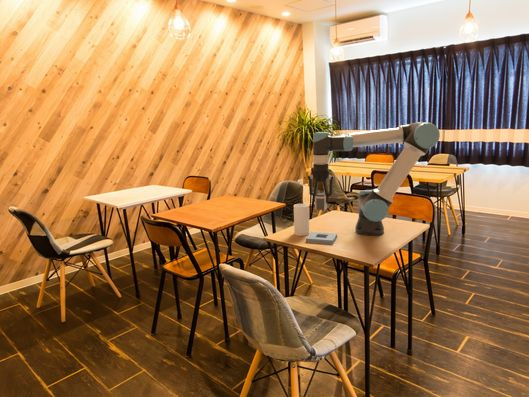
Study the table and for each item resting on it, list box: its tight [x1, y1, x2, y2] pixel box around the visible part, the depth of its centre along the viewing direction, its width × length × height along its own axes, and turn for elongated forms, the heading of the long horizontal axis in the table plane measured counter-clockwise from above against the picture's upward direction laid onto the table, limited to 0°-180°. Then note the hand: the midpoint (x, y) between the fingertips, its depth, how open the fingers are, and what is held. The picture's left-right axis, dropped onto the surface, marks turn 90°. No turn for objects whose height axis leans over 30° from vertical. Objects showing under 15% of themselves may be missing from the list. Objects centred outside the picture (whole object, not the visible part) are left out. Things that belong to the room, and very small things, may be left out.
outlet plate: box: [305, 231, 338, 245], centre depth 204 cm, size 14×12×2 cm
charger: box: [315, 192, 326, 211], centre depth 200 cm, size 4×4×8 cm
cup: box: [293, 203, 310, 237], centre depth 214 cm, size 8×8×16 cm
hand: (321, 208), depth 201 cm, fingers closed on charger, 4 cm apart
